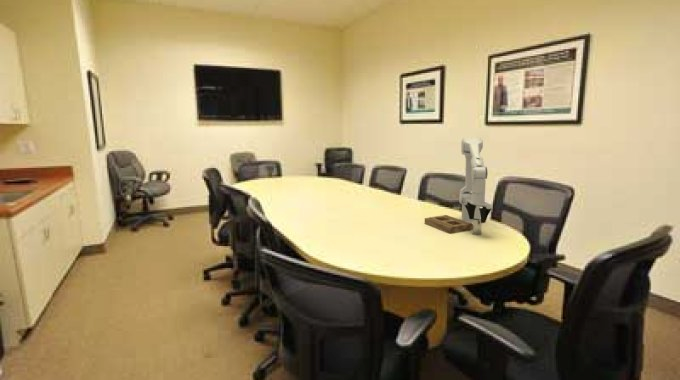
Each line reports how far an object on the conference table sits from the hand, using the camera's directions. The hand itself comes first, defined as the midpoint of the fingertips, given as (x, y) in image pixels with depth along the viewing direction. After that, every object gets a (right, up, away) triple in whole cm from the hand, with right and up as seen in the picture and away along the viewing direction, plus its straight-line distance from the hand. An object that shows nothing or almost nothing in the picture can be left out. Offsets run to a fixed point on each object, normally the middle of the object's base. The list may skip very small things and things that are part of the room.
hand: (477, 220), depth 177 cm
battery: (0, -6, +1) cm, 6 cm away
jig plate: (-10, -4, +14) cm, 18 cm away
